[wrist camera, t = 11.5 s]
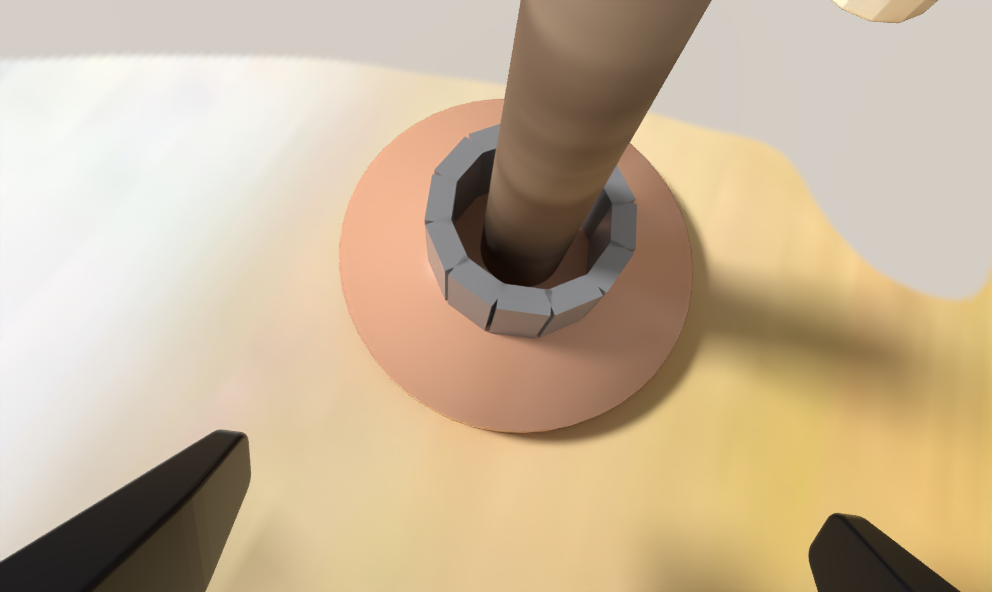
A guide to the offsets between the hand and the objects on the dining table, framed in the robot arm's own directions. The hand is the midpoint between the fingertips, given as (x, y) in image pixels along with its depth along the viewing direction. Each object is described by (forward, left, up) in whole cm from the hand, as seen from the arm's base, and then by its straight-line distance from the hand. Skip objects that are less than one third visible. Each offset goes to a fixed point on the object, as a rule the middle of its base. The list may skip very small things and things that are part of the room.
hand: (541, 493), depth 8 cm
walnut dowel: (+4, -7, -9) cm, 12 cm away
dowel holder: (+4, -7, -11) cm, 13 cm away
